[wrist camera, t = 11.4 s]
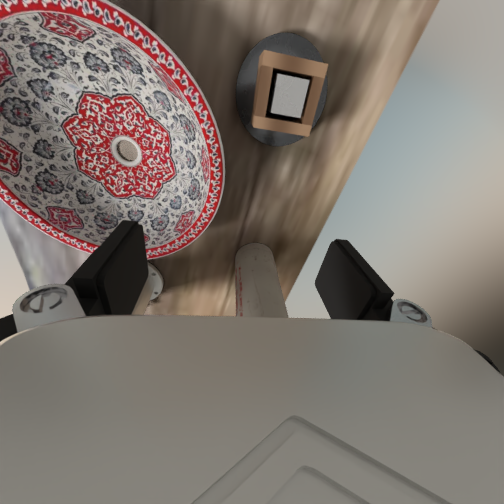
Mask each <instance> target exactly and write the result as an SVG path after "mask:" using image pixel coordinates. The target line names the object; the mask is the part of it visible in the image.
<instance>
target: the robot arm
mask: <svg viewBox="0 0 504 504" xmlns="http://www.w3.org/2000/svg"><path fill="white" fill-rule="evenodd" d="M163 284H164V283H163V278H162V275H161V274H160V272H159V271H158V270H157V269H156V268H155V267H154V266H153V265H152V264H150V263H148V262H147V254H146V246H145V239H144V231H143V226H142V225H140V224H139V223H138V222H137V221H130V220H122V221H121V222H120V224H119V225H118V226H117V227H116V228H115V229H114V230H113V232H112V233H111V234H110V235H109V236H108V237H107V238H106V240H105V241H104V242H103V243H102V244H101V245H100V246H99V247H98V248H97V249H96V250H95V251H94V252H93V253H92V254H91V255H90V256H89V257H88V259H87V260H86V261H85V262H84V263H83V264H82V265H81V267H80V268H79V269H78V270H77V271H76V272H75V273H74V274H73V276H72V277H71V278H70V279H69V280H68V281H67V282H66V283H65V284H48V285H44V286H40V287H37V288H35V289H32V290H30V291H28V292H26V293H25V294H23V295H22V296H21V297H19V298H18V299H17V300H16V301H15V303H14V304H13V309H12V311H13V314H11V315H9V316H6V317H4V318H1V319H0V504H504V377H503V376H502V375H501V374H500V371H499V370H498V368H497V367H496V366H495V365H494V364H493V362H492V361H491V360H490V359H489V358H488V357H487V356H486V355H484V354H483V353H481V352H479V351H477V350H474V349H473V348H471V347H470V346H469V345H467V344H466V343H465V342H463V341H462V340H460V339H458V338H456V337H453V336H452V335H449V334H447V333H445V332H442V331H439V330H437V329H435V328H433V327H432V320H431V317H430V316H429V314H428V313H427V312H426V311H425V310H424V309H423V308H421V307H420V306H418V305H416V304H415V303H413V302H411V301H408V300H405V299H396V300H394V302H393V301H392V299H391V297H392V296H393V294H394V292H393V291H392V290H391V289H390V288H389V287H388V286H387V284H386V283H385V282H384V281H383V280H382V279H381V278H380V277H379V275H378V274H377V273H376V272H375V271H374V270H373V269H372V267H371V266H370V265H369V264H368V263H367V262H366V261H365V259H364V258H363V257H362V256H361V255H360V254H359V253H358V251H357V250H356V249H355V248H354V247H353V246H352V245H351V244H350V242H349V241H347V240H340V239H336V240H335V241H334V242H331V244H330V246H329V248H328V251H327V253H326V256H325V258H324V261H323V263H322V265H321V268H320V270H319V273H318V275H317V278H316V280H315V286H316V288H317V291H318V293H319V294H320V297H321V298H322V301H323V303H324V305H325V307H326V309H327V311H328V313H329V315H330V317H331V319H311V318H274V317H234V316H188V315H144V313H145V311H146V308H147V306H148V303H149V301H150V300H153V299H154V298H156V297H157V296H158V295H159V294H160V293H161V291H162V288H163Z"/></svg>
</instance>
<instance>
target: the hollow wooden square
mask: <svg viewBox="0 0 504 504" xmlns="http://www.w3.org/2000/svg"><path fill="white" fill-rule="evenodd" d="M327 68H328V64H326V63H322V62H317V61H313V60H308V59H304V58H299V57H295V56H290V55H286V54H281V53H276V52H272V51H267V50H264V51H263V52H262V53H261V55H260V56H259V63H258V71H257V79H256V86H255V94H254V102H253V109H252V117H251V124H252V126H253V127H254V128H260V129H266V130H272V131H278V132H284V133H289V134H295V135H301V136H307V137H309V134H310V131H311V127H312V123H313V120H314V116H315V112H316V109H317V105H318V101H319V98H320V94H321V90H322V87H323V83H324V79H325V75H326V72H327ZM272 72H275V73H280V74H284V75H289V76H294V77H299V78H303V79H306V80H310V81H309V85H308V89H307V93H306V97H305V101H304V105H303V110H302V114H301V118H297V117H294V119H293V120H291V119H285V118H280V117H274V116H268V115H266V109H267V103H268V97H269V90H270V84H271V78H272Z"/></svg>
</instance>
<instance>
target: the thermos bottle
mask: <svg viewBox="0 0 504 504" xmlns="http://www.w3.org/2000/svg"><path fill="white" fill-rule="evenodd" d="M235 278H236V317H274V318H288V314H287V310H286V306H285V302H284V298H283V294H282V290H281V286H280V283H279V278H278V273H277V269H276V265H275V261H274V257H273V253H272V251H271V250H270V248H268V247H267V246H266V245H264V244H261V243H250V244H247V245H245V246H243V247H241V248H240V249H239V250H238V252H237V254H236V257H235Z"/></svg>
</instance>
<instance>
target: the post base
mask: <svg viewBox="0 0 504 504" xmlns="http://www.w3.org/2000/svg"><path fill="white" fill-rule="evenodd" d="M264 50H267V51H272V52H276V53H281V54H286V55H290V56H295V57H299V58H304V59H308V60H313V61H317V62H322V63H324V62H323V60H322V58H321V56H320V54H319V52H318V51H317V49H316V48H315V47H314V46H313V45H312V44H311V43H310V42H309V41H308V40H307V39H305V38H303V37H301V36H299V35H296V34H293V33H278V34H274V35H271V36H269V37H267V38H265V39H263V40H262V41H260V42H259V43H258V44H257V45H256V46H255V47H254V48H253V49H252V50H251V51H250V52H249V54H248V55H247V57H246V58H245V60H244V62H243V64H242V66H241V69H240V72H239V75H238V79H237V85H236V103H237V109H238V112H239V115H240V118H241V120H242V122H243V124H244V126H245V128H246V129H247V130H248V132H249V133H250V134H251V135H252V136H253V137H255V138H256V139H257V140H259V141H260V142H262V143H265V144H267V145H271V146H285V145H289V144H292V143H294V142H296V141H298V140H300V139H301V138H303V137H304V136H301V135H295V134H289V133H284V132H278V131H272V130H266V129H260V128H254V127H253V126H252V124H251V117H252V109H253V102H254V94H255V86H256V79H257V71H258V63H259V56H260V55H261V53H262V52H263V51H264ZM309 81H310V80H306V79H303V78H299V77H294V76H289V75H284V74H280V73H275V72H272V78H271V84H270V90H269V97H268V103H267V109H266V115H268V116H274V117H280V118H285V119H291V120H293V119H294V117H297V118H301V114H302V110H303V105H304V101H305V97H306V93H307V89H308V85H309ZM326 96H327V74H326V75H325V79H324V83H323V87H322V90H321V94H320V98H319V101H318V105H317V109H316V112H315V116H314V120H313V123H312V127H311V129H312V128H313V127H314V125H315V124H316V123H317V121H318V119H319V117H320V115H321V113H322V111H323V108H324V105H325V101H326Z"/></svg>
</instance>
